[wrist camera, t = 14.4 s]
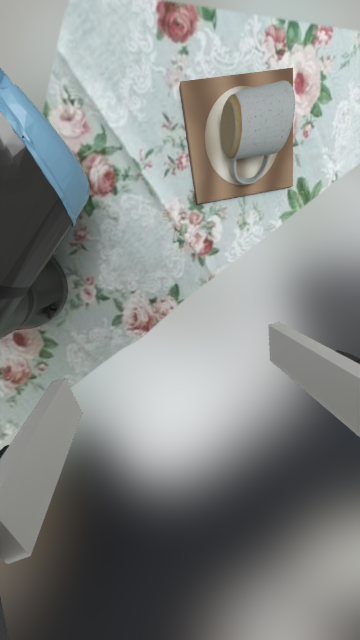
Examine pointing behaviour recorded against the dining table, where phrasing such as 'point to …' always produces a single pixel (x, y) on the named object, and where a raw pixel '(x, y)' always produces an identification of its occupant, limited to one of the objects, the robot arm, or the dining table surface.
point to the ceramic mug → (257, 124)
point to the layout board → (205, 139)
